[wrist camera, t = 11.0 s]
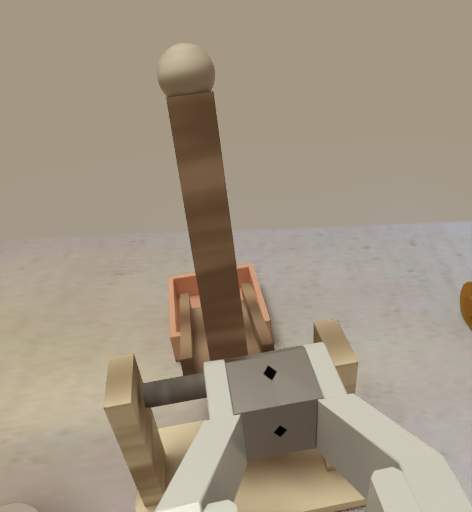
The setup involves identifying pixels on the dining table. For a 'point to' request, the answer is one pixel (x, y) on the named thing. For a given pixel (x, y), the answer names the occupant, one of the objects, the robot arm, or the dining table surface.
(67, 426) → the dining table surface
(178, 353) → the pink shallow hollow tray
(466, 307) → the toy cannon
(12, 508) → the wineglass
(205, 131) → the lever
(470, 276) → the dining table surface
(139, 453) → the stand
